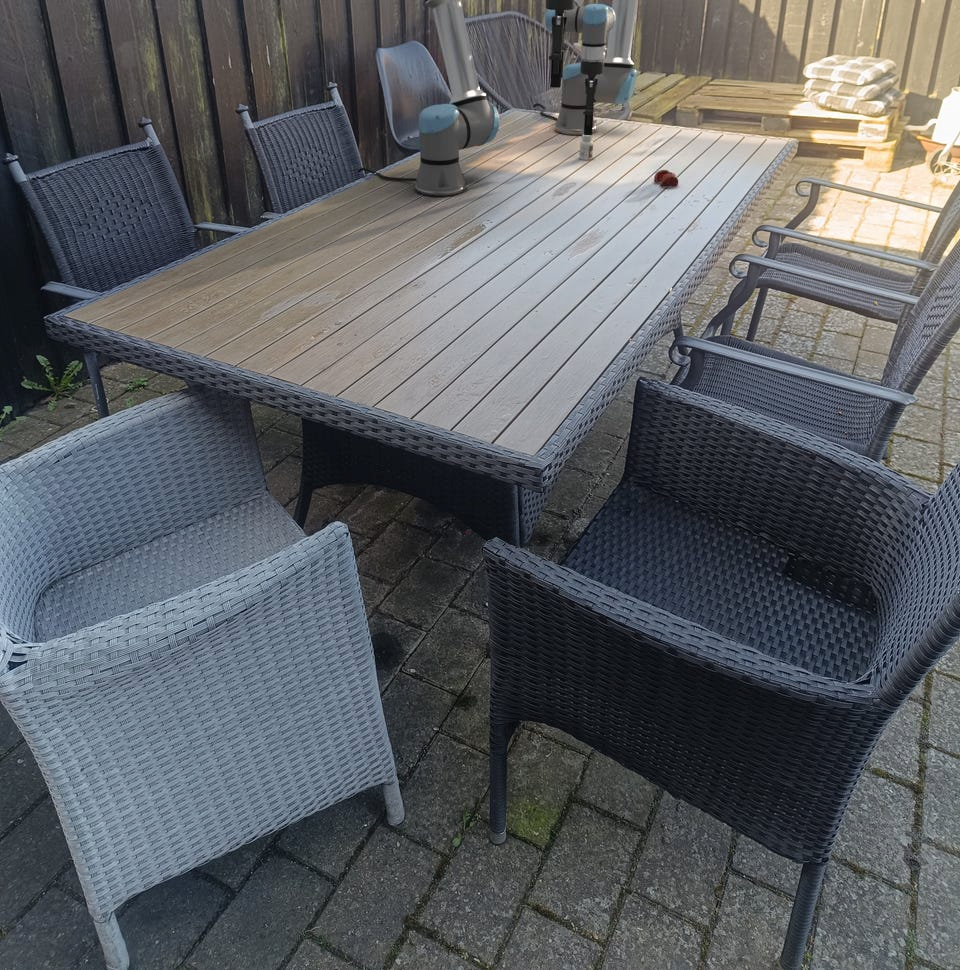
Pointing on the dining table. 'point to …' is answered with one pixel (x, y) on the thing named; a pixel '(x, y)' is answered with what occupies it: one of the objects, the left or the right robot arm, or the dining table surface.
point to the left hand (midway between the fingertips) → (556, 82)
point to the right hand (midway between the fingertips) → (588, 129)
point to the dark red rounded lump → (666, 178)
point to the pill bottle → (586, 147)
